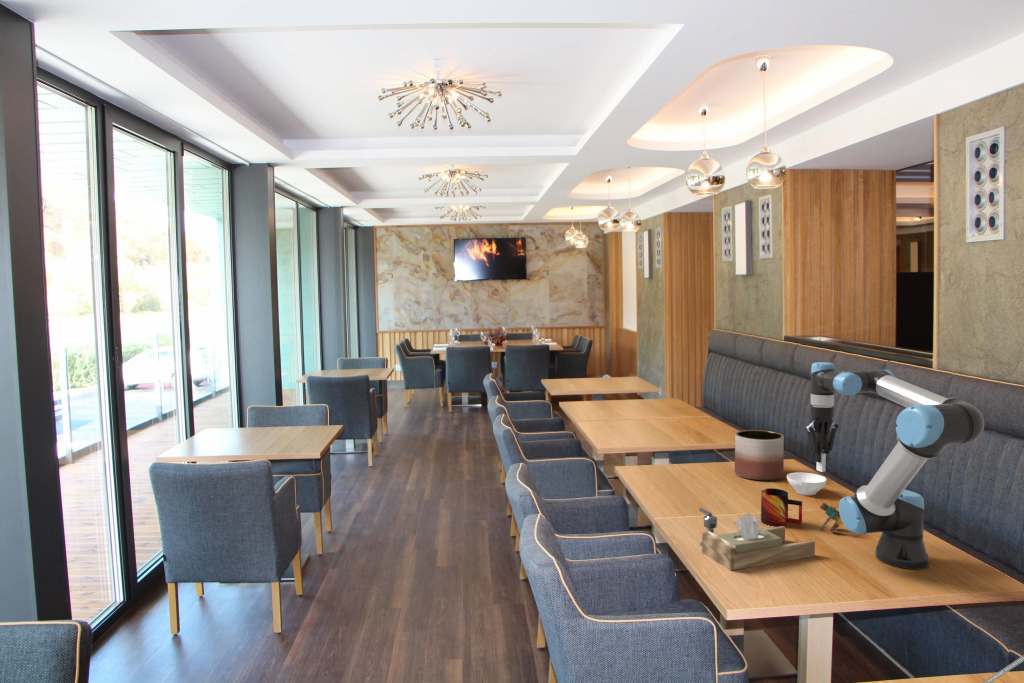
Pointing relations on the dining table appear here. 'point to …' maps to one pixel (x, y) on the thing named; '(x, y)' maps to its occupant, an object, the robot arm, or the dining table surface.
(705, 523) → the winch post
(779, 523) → the mug
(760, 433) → the planter
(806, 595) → the dining table surface
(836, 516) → the binoculars
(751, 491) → the dining table surface
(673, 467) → the dining table surface
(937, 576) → the dining table surface
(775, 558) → the bay
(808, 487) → the bowl
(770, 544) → the tissue box
